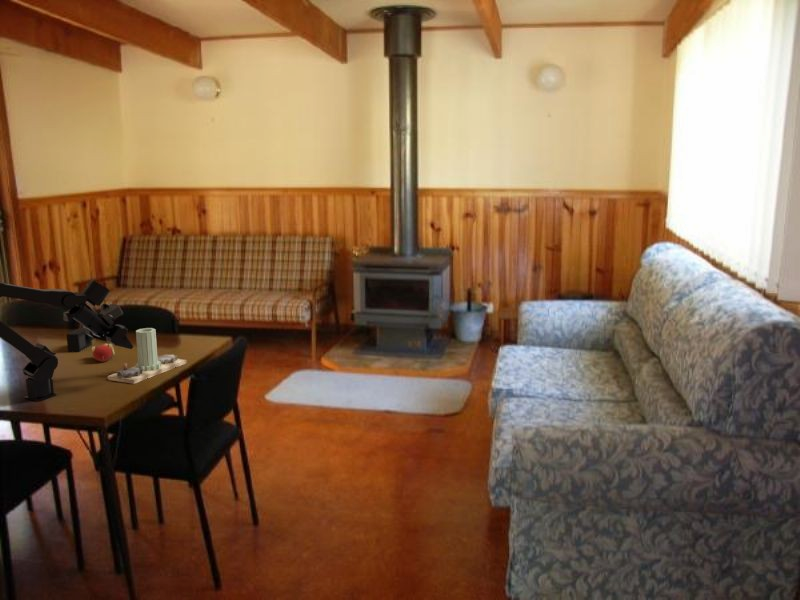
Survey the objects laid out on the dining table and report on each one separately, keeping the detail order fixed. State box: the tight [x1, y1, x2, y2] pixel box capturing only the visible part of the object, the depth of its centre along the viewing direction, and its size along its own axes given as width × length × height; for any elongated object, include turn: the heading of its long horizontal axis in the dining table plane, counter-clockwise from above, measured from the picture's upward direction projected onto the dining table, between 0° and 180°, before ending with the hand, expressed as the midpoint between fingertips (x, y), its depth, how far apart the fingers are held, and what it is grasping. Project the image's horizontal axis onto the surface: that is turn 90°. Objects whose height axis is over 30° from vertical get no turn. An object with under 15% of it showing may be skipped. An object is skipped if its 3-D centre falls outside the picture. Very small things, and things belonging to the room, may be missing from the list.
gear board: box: [107, 353, 188, 385], centre depth 227 cm, size 25×11×5 cm, turn 157°
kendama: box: [91, 342, 115, 363], centre depth 244 cm, size 8×6×18 cm
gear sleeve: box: [134, 327, 161, 371], centre depth 226 cm, size 8×8×13 cm
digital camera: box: [66, 327, 94, 353], centre depth 256 cm, size 10×5×7 cm, turn 179°
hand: (125, 345), depth 220 cm, fingers open, 9 cm apart
